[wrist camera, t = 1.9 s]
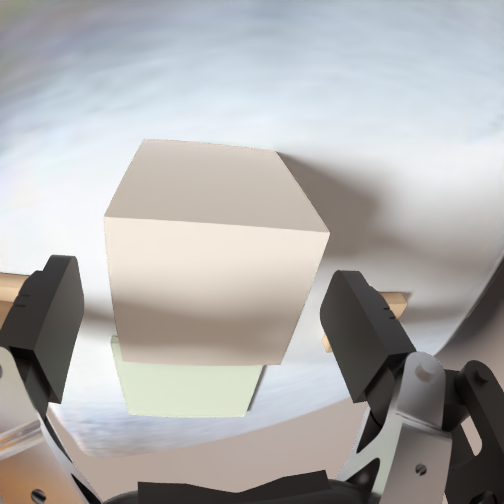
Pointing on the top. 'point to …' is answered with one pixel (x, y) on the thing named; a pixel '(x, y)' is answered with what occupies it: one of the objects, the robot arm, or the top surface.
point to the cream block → (209, 255)
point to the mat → (185, 388)
